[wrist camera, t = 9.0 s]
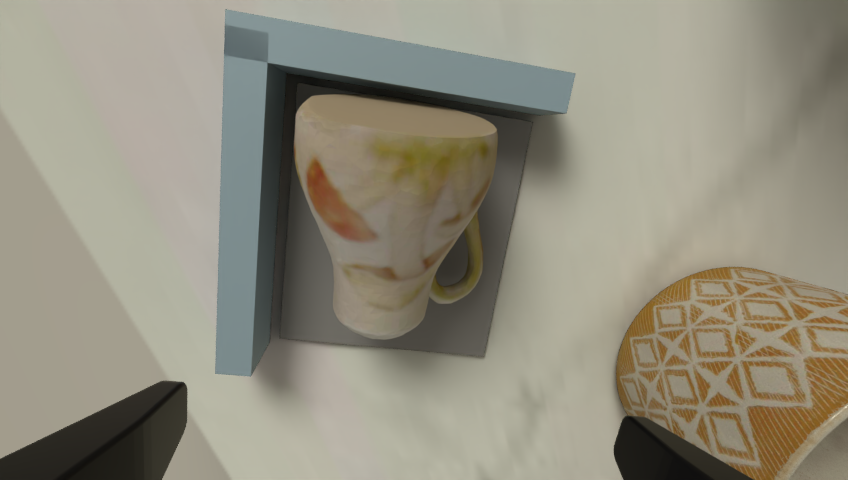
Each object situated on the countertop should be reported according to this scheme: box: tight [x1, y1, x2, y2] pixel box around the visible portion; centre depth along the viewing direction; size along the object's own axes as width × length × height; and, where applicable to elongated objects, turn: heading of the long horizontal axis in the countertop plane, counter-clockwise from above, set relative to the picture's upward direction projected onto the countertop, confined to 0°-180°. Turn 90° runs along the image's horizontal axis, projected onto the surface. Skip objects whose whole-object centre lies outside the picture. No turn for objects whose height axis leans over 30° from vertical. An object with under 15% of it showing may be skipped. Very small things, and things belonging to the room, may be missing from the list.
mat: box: [280, 83, 533, 357], centre depth 20 cm, size 11×12×1 cm
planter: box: [616, 267, 848, 480], centre depth 19 cm, size 13×13×10 cm
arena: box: [215, 9, 576, 376], centre depth 18 cm, size 13×14×3 cm
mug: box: [294, 94, 498, 340], centre depth 16 cm, size 8×10×10 cm
